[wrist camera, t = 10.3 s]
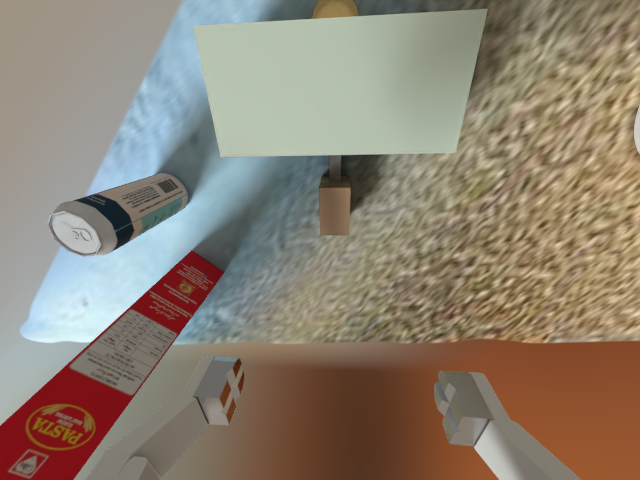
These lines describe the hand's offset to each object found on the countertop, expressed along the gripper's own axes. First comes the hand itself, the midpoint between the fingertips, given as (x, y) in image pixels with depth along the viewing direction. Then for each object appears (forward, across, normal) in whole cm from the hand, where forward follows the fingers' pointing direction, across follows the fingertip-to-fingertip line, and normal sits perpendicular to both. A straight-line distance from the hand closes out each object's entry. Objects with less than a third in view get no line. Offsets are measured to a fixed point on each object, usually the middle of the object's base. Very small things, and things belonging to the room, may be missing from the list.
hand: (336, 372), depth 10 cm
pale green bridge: (+21, +1, -11) cm, 24 cm away
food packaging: (+21, +23, +14) cm, 34 cm away
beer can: (+21, +21, -2) cm, 29 cm away
